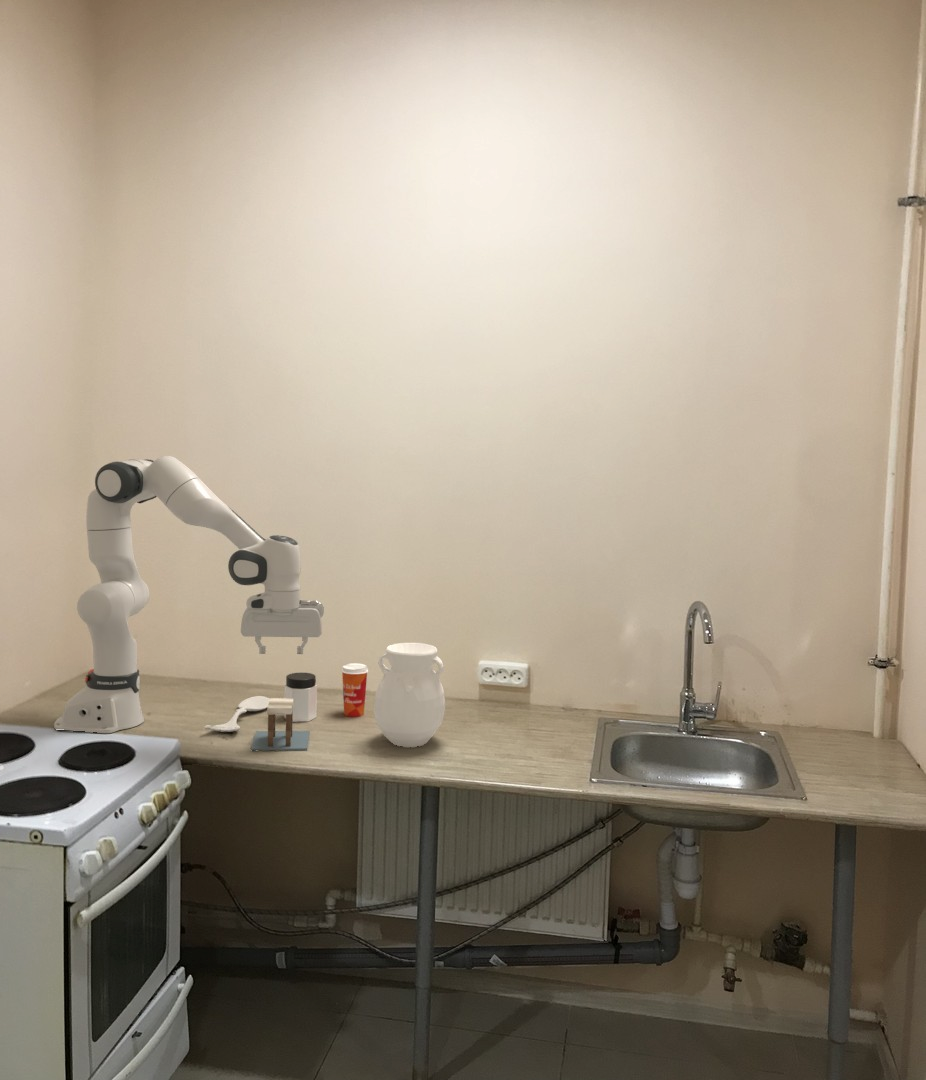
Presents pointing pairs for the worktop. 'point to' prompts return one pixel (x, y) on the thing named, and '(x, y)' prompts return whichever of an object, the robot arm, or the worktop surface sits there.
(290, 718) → the stool
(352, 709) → the paper cup
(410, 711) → the white vase
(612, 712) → the worktop surface
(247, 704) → the white spork
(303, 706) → the jar
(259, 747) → the mat
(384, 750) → the worktop surface
